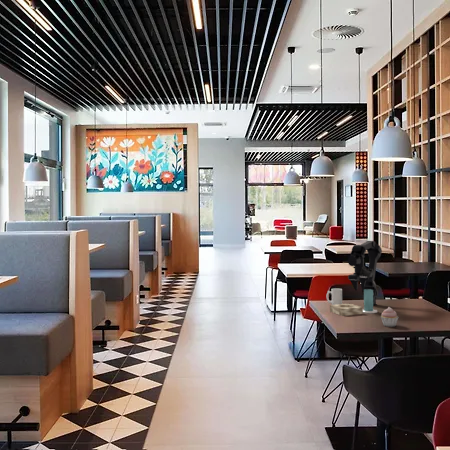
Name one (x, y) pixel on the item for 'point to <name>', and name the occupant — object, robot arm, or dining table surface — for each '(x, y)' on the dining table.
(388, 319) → the cupcake
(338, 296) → the mug
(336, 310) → the pocket collar
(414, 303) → the dining table surface
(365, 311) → the pad
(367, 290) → the dowel
